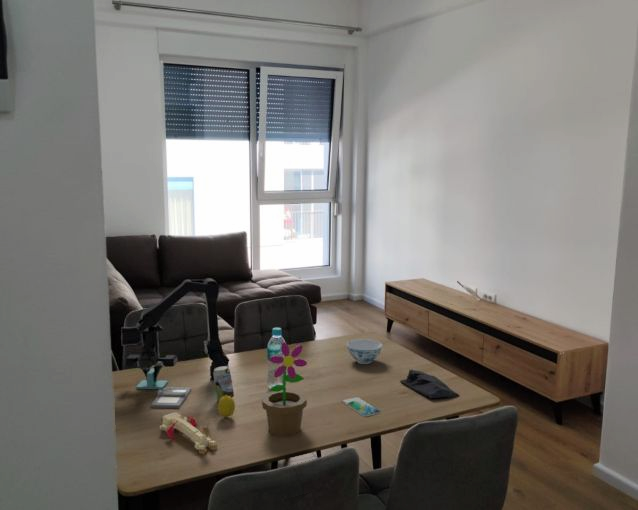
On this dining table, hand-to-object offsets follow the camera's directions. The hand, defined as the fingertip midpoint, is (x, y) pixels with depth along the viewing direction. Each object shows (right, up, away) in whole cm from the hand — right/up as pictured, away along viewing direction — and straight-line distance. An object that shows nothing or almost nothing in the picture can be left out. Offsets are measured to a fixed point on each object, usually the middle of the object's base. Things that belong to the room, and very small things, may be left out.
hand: (152, 382), depth 219 cm
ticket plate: (+10, -3, -12) cm, 16 cm away
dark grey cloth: (+105, -3, -1) cm, 105 cm away
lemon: (+33, -6, -27) cm, 43 cm away
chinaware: (+83, +2, +28) cm, 88 cm away
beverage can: (+29, -4, -12) cm, 32 cm away
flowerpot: (+53, -7, -35) cm, 64 cm away
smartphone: (+78, -5, -18) cm, 80 cm away
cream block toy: (+23, -9, -41) cm, 48 cm away
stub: (0, -2, 0) cm, 2 cm away
